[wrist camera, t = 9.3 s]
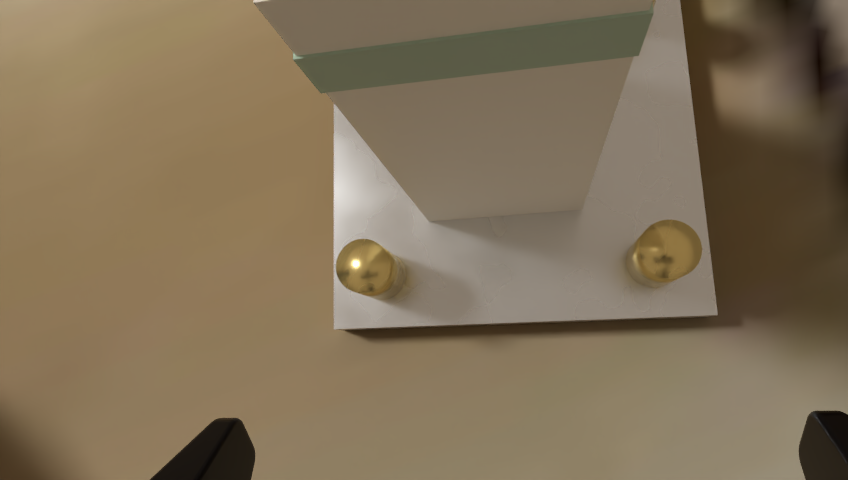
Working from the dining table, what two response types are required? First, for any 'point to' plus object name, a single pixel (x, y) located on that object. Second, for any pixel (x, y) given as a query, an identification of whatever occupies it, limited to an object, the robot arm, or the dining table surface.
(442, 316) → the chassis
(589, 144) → the block
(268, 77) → the dining table surface
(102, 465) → the dining table surface
